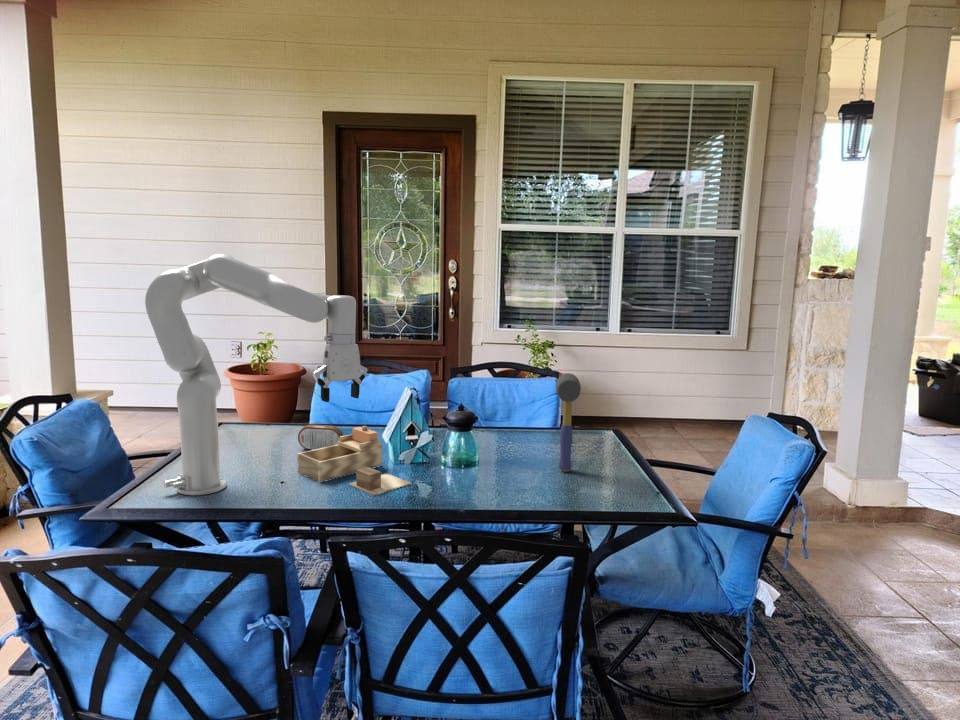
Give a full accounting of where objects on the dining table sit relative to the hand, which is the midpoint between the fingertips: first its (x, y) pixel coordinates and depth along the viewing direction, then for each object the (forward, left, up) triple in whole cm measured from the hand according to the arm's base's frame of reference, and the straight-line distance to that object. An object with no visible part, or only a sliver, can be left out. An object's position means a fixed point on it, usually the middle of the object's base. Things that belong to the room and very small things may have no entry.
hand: (340, 399), depth 186 cm
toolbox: (+5, +8, -24) cm, 26 cm away
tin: (+12, +30, -24) cm, 40 cm away
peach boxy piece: (+14, +8, -17) cm, 23 cm away
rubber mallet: (+55, -39, -24) cm, 72 cm away
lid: (+6, -11, -24) cm, 27 cm away
